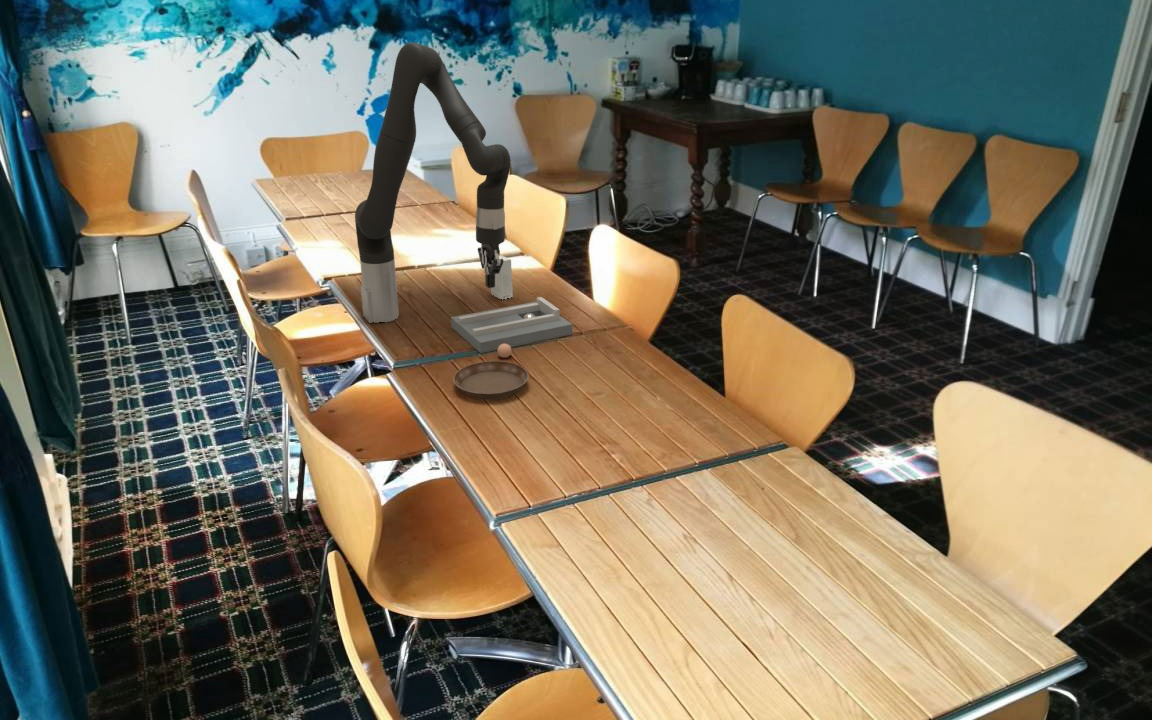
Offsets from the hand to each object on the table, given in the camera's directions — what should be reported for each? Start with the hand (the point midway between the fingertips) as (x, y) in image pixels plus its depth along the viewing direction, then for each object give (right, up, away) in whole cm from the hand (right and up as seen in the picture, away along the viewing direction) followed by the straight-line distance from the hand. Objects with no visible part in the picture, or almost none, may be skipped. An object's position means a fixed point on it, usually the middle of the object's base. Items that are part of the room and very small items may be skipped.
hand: (490, 286), depth 235 cm
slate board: (+5, -12, +6) cm, 14 cm away
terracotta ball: (+5, -17, -11) cm, 21 cm away
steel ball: (+10, -9, +7) cm, 15 cm away
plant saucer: (+3, -26, -26) cm, 37 cm away
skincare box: (0, -1, +30) cm, 30 cm away
